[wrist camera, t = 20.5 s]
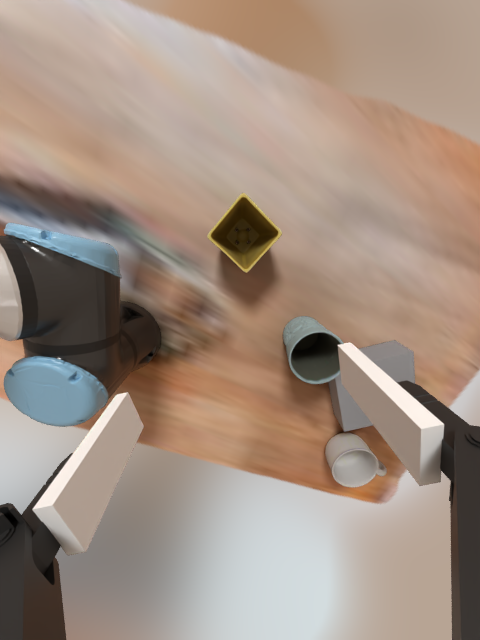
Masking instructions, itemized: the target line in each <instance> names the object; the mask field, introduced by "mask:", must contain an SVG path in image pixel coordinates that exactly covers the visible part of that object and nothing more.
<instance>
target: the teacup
mask: <svg viewBox="0 0 480 640" xmlns="http://www.w3.org/2000/svg"><path fill="white" fill-rule="evenodd" d="M325 455H326V459H327V462H328V464H329V467H330V469H331V471H332V475H333V477H334V479H335V480H336V481H337V482H338V483H339V484H341V485H343V486H346V487H359V486H362V485H365V484H367V483H368V482H370V481H371V480H372V479H373V478H374V477H375V475H376V474H377V475H379V476H384V475H385V474H386V472H387V469H386V467H385V466H384V464H383V463H382V462H380V461H379V460H378V459H377V457H376V456H375V455H374V454H373V453H372V451H371V450H370V448H369V447H368V446H367V444H366V443H365V442H364V441H363V440H362V439H361V438H360V437H359V436H357V435H355V434H352V433H340V434H337V435H335V436H334V437H332V438H331V439H330V440H329V441H328V443H327V445H326V449H325ZM379 468H380V469H379Z"/></svg>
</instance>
